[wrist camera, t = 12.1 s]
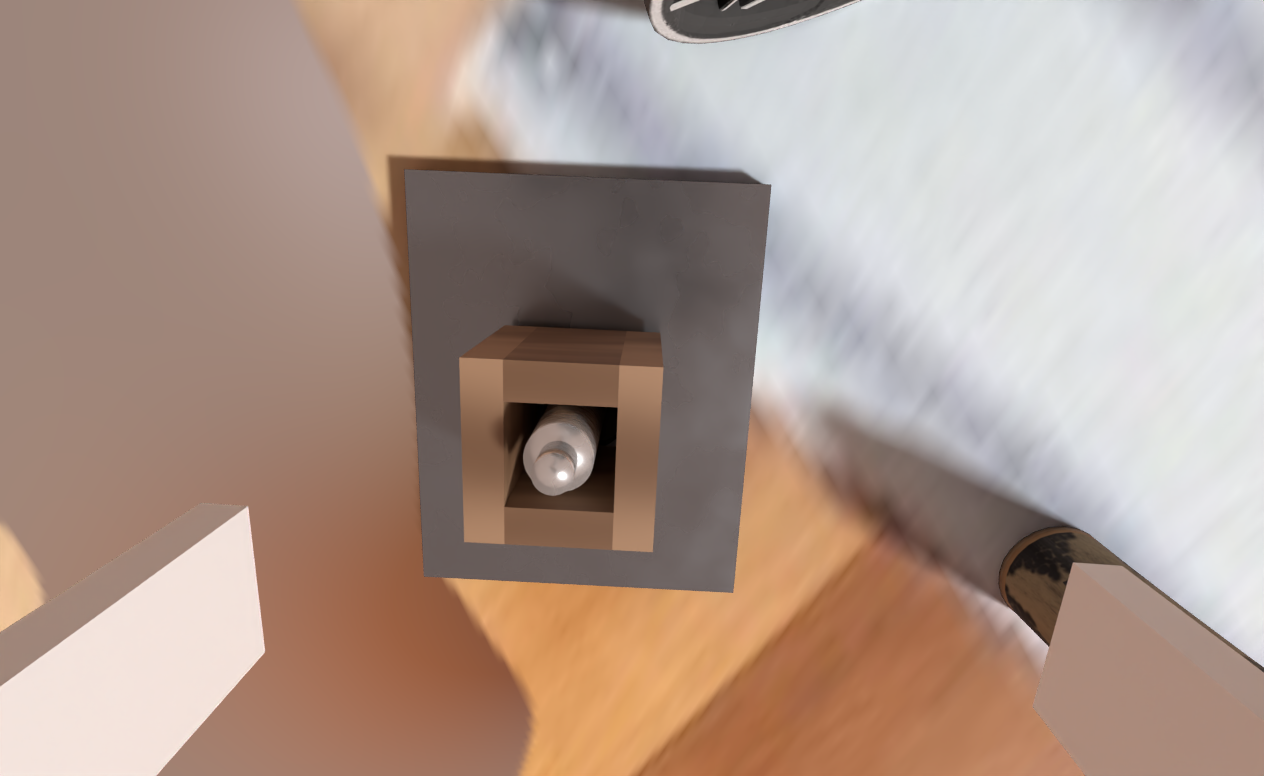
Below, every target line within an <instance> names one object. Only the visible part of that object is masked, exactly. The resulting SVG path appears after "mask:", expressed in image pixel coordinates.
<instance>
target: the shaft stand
mask: <svg viewBox="0 0 1264 776" xmlns="http://www.w3.org/2000/svg"><path fill="white" fill-rule="evenodd" d="M404 173H405V194H406V214H407V235H408V256H409V277H410V297H411V318H412V339H413V360H414V380H415V401H416V422H417V443H418V463H419V484H420V505H421V526H422V546H423V567H424V577H443V578H462V579H482V580H501V581H520V582H539V583H558V584H577V585H596V586H615V587H634V588H653V589H672V590H691V591H710V592H729V593H733V589H734V579H735V568H736V557H737V547H738V536H739V525H740V515H741V504H742V493H743V483H744V472H745V461H746V450H747V440H748V429H749V418H750V408H751V397H752V386H753V376H754V365H755V354H756V343H757V333H758V322H759V311H760V301H761V290H762V279H763V269H764V258H765V247H766V237H767V226H768V215H769V204H770V194H771V185H766V184H742V183H718V182H694V181H670V180H646V179H622V178H598V177H575V176H551V175H527V174H503V173H479V172H455V171H431V170H407V169H404ZM504 325H511V326H532V327H553V328H574V329H595V330H615V331H636V332H657V333H660V335H661V346H662V357H663V384H662V401H661V418H660V436H659V453H658V470H657V488H656V505H655V522H654V540H653V552H641V551H622V550H603V549H584V548H565V547H547V546H528V545H509V544H490V543H472V542H464V515H463V479H462V442H461V406H460V369H459V357H461V356H462V355H463V354H465V353H466V352H468V351H469V350H471V349H472V348H473V347H475V346H476V345H478V344H479V343H480V342H482V341H483V340H485V339H486V338H487V337H489V336H490V335H492V334H493V333H495V332H496V331H497V330H499V329H500V328H502V327H503V326H504ZM617 416H618V407H599V406H579V405H559V404H539V403H538V421H537V426H536V427H535V429H534V431H533V433H532V435H531V436H530V438H529V440H528V442H527V444H526V446H525V448H524V453H523V463H524V467H525V470H526V472H527V474H528V475H529V477H530V478H531V480H532V483H533V485H534V486H535V488H536V489H537V490H539V491H540V492H541V493H543V494H546V495H551V496H555V495H560V494H562V493H564V492H567V491H571V490H574V489H576V488H578V487H579V486H581V485H582V484H583V483H584V482H585V481H586V480H587V479H588V478H589V476H590V474H591V472H592V469H593V465H594V460H595V456H596V452H597V448H598V445H602V446H616V441H617Z"/></svg>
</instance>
